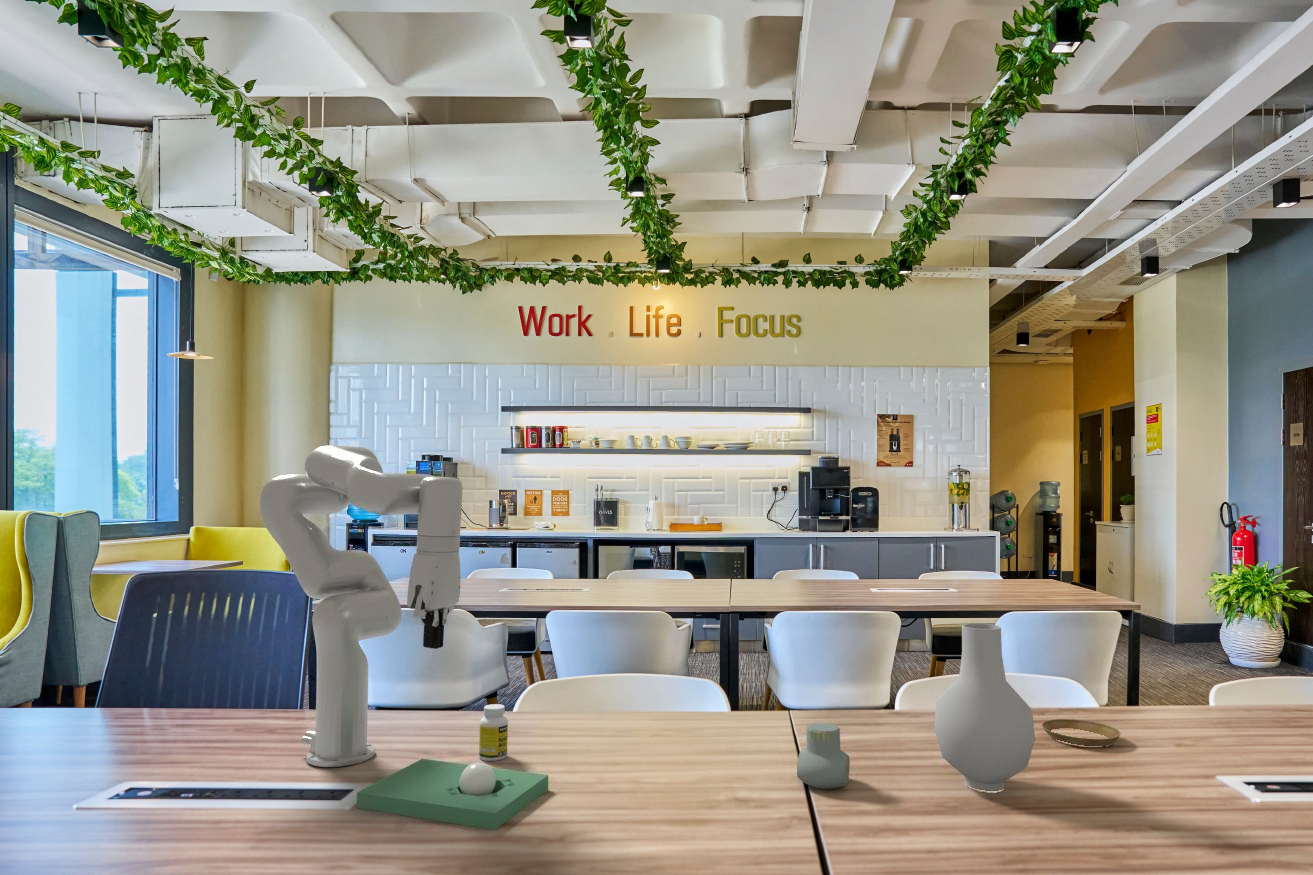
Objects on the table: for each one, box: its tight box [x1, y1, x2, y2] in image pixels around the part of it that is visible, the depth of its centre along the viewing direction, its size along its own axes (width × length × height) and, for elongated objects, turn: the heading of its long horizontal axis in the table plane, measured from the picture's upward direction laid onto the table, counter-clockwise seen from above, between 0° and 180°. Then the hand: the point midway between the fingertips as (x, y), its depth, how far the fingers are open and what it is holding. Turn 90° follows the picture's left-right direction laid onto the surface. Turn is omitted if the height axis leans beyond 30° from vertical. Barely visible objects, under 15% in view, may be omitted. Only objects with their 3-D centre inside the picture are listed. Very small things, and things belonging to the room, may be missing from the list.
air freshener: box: [796, 722, 851, 790], centre depth 149 cm, size 11×8×10 cm
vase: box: [934, 622, 1036, 791], centre depth 148 cm, size 17×16×28 cm
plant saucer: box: [1041, 718, 1122, 747], centre depth 174 cm, size 15×15×3 cm
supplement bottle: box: [478, 703, 509, 762], centre depth 163 cm, size 5×5×10 cm
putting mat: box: [356, 758, 549, 831], centre depth 141 cm, size 26×18×2 cm
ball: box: [459, 762, 496, 796], centre depth 140 cm, size 6×6×6 cm
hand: (433, 646), depth 150 cm, fingers closed
